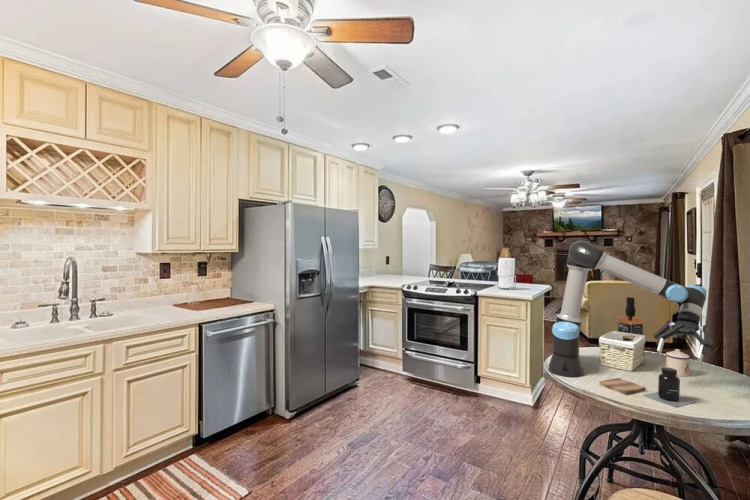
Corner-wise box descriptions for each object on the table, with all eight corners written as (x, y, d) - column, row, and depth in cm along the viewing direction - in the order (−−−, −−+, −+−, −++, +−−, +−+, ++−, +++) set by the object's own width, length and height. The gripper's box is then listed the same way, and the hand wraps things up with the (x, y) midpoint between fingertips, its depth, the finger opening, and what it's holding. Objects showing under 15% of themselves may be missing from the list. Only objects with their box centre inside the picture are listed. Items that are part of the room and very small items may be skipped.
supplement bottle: (673, 403, 145) (673, 372, 145) (654, 396, 151) (654, 367, 151) (683, 400, 148) (683, 370, 148) (664, 393, 154) (664, 365, 154)
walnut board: (599, 384, 165) (599, 381, 165) (618, 381, 169) (618, 377, 169) (626, 395, 154) (626, 391, 154) (645, 390, 158) (645, 387, 158)
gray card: (643, 395, 153) (643, 395, 153) (662, 391, 157) (662, 390, 157) (675, 407, 142) (675, 407, 142) (695, 402, 146) (695, 402, 146)
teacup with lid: (690, 378, 172) (691, 353, 172) (665, 374, 178) (666, 350, 177) (688, 370, 182) (688, 347, 182) (664, 367, 187) (665, 344, 187)
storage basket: (611, 356, 207) (611, 329, 206) (646, 362, 195) (646, 334, 195) (597, 365, 190) (597, 337, 190) (635, 373, 178) (635, 343, 178)
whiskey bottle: (630, 350, 216) (630, 296, 215) (645, 355, 206) (646, 298, 205) (615, 351, 214) (615, 296, 213) (629, 357, 204) (629, 299, 204)
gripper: (729, 325, 156) (719, 368, 147) (657, 316, 176) (645, 354, 167) (726, 314, 152) (716, 358, 144) (653, 306, 173) (641, 344, 164)
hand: (678, 356), depth 155 cm, fingers open, 13 cm apart
